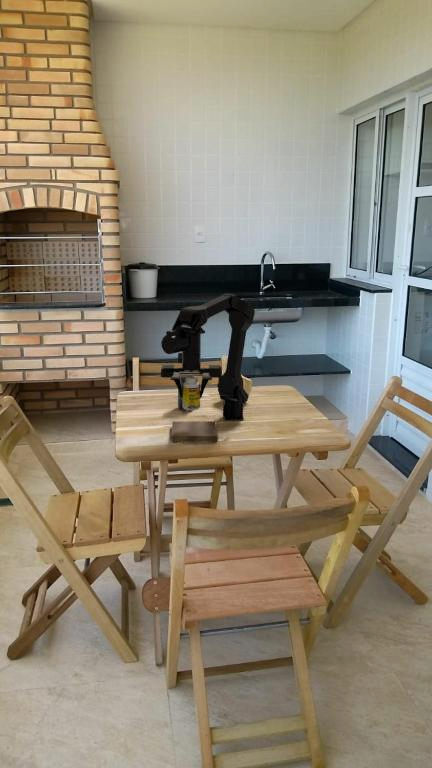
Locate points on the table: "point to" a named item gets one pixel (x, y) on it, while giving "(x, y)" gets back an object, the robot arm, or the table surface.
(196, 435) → the walnut block
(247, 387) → the sculpture
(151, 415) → the table surface
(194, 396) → the supplement bottle
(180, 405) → the supplement bottle
